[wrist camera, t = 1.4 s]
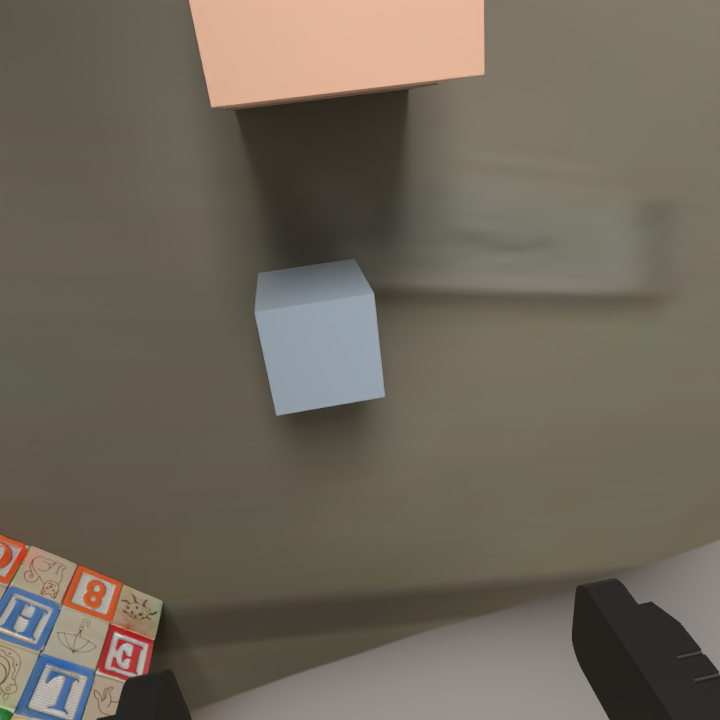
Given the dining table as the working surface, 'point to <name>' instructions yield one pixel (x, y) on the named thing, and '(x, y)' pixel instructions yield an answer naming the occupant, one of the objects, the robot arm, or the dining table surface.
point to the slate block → (319, 336)
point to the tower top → (333, 46)
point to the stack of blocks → (67, 636)
